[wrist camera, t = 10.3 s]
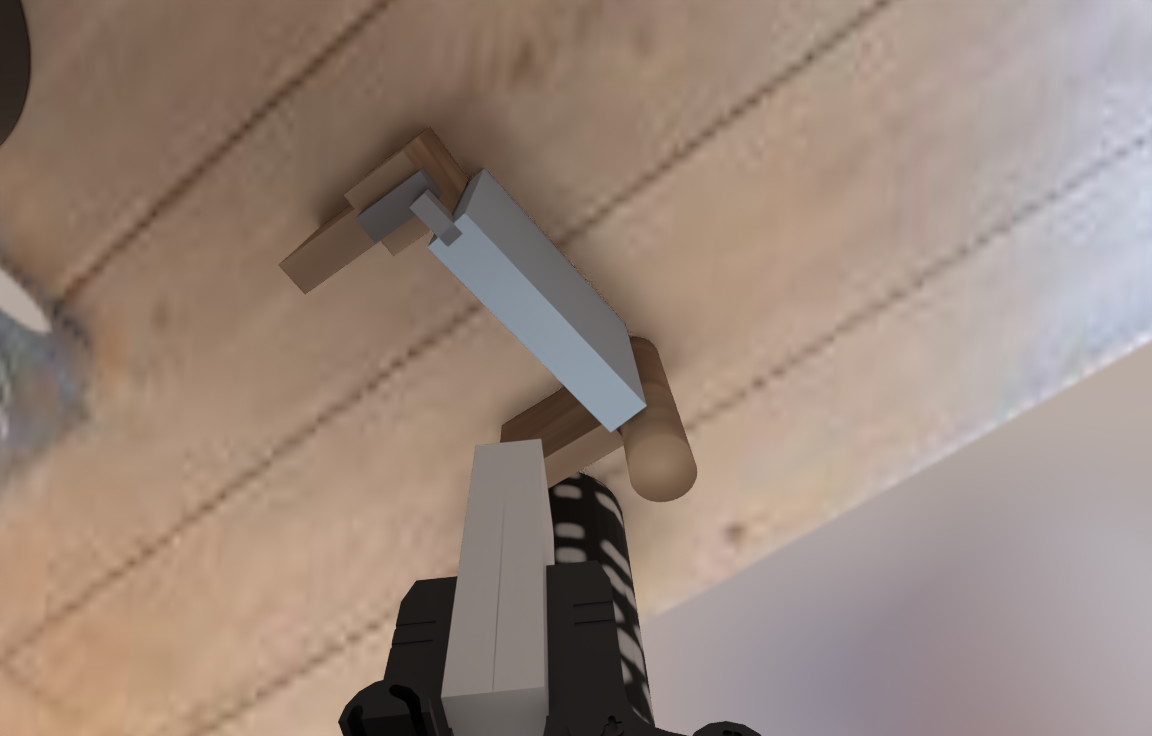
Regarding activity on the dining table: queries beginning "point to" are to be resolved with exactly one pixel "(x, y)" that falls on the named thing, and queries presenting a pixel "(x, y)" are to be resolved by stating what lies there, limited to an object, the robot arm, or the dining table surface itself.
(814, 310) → the dining table surface
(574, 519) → the white-spotted black cylinder
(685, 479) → the pair of brown blocks
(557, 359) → the gate
